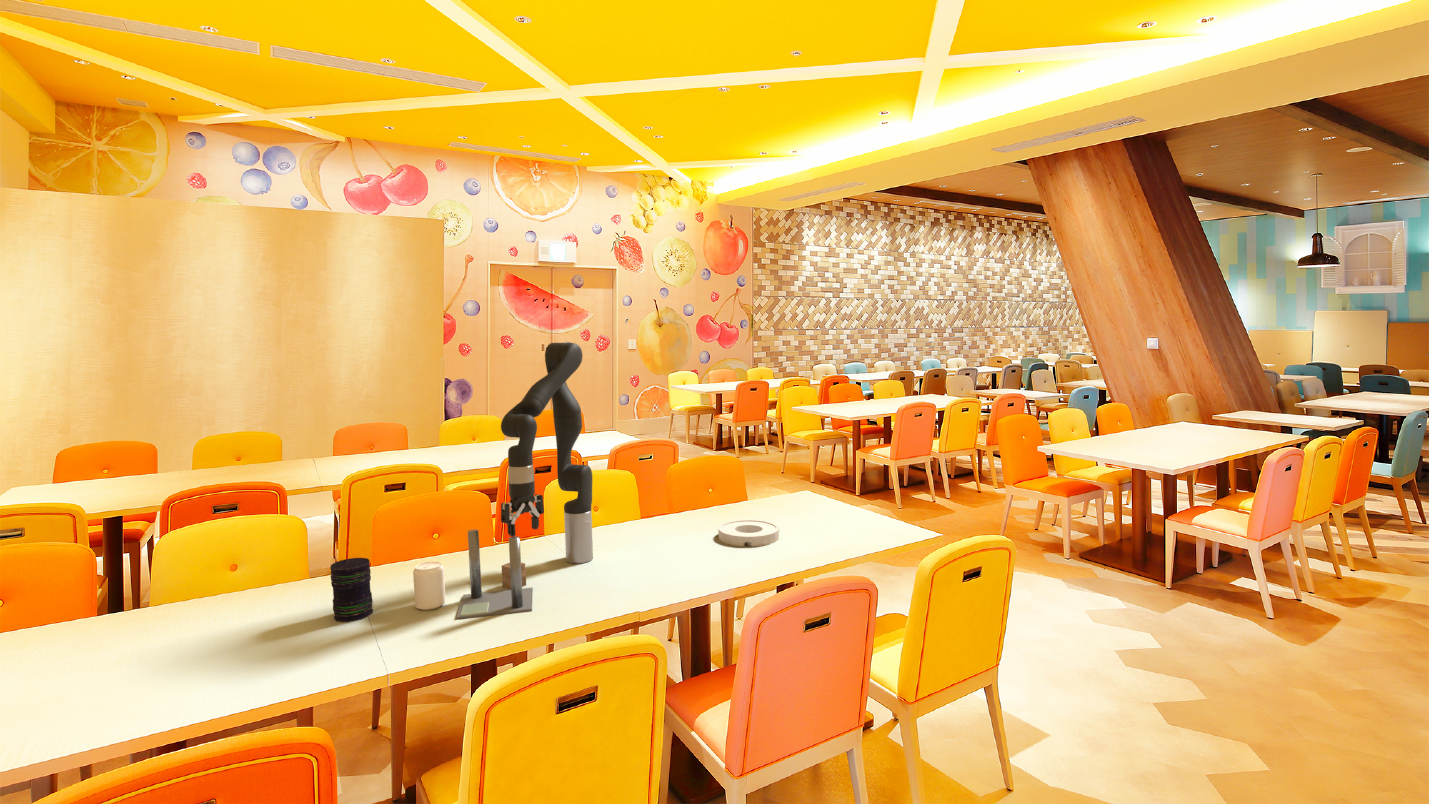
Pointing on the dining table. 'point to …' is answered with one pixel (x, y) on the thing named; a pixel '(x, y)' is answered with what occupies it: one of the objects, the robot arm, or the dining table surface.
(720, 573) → the dining table surface
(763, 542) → the ashtray
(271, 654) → the dining table surface
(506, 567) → the walnut block
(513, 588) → the post
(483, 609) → the pad
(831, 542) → the dining table surface
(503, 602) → the mat
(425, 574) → the beverage can
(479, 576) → the post
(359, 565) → the black cylinder
